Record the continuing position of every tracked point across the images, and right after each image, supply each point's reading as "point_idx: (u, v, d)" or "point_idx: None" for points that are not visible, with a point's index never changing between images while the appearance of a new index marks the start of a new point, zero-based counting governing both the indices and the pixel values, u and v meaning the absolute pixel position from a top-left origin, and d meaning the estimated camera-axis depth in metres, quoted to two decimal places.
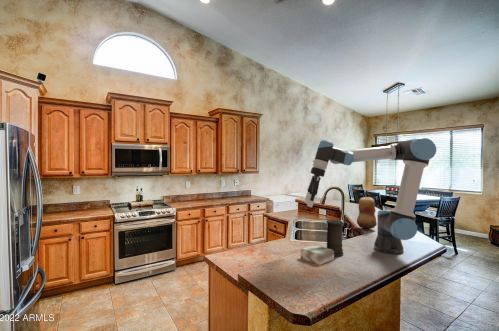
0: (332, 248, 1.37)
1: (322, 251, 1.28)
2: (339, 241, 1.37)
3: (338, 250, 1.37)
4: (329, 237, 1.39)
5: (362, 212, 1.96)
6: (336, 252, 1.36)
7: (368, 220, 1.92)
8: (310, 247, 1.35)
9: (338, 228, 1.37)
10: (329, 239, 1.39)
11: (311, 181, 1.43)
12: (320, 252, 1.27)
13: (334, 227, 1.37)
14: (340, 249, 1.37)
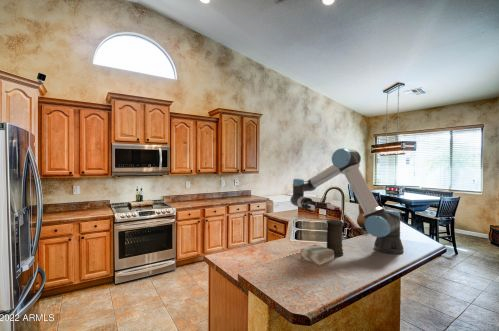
0: (332, 248, 1.37)
1: (322, 251, 1.28)
2: (339, 241, 1.37)
3: (338, 250, 1.37)
4: (329, 237, 1.39)
5: (362, 212, 1.96)
6: (336, 252, 1.36)
7: None
8: (310, 247, 1.35)
9: (338, 228, 1.37)
10: (329, 239, 1.39)
11: (314, 206, 1.63)
12: (320, 252, 1.27)
13: (334, 227, 1.37)
14: (340, 249, 1.37)
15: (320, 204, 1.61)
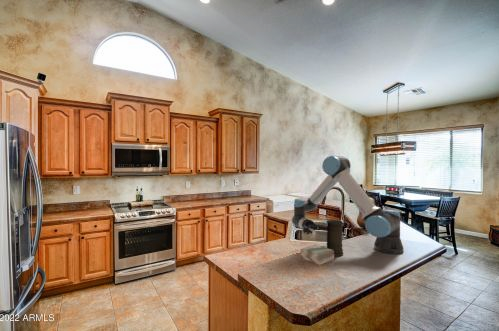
0: (332, 248, 1.37)
1: (322, 251, 1.28)
2: (339, 241, 1.37)
3: (338, 250, 1.37)
4: (329, 237, 1.39)
5: None
6: (336, 252, 1.36)
7: None
8: (310, 247, 1.35)
9: (338, 228, 1.37)
10: (329, 239, 1.39)
11: (316, 229, 1.60)
12: (320, 252, 1.27)
13: (334, 227, 1.37)
14: (340, 249, 1.37)
15: (322, 227, 1.59)
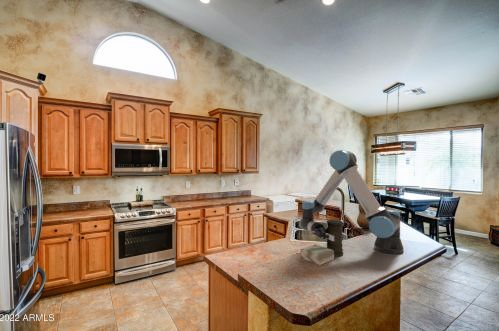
0: (332, 248, 1.37)
1: (322, 251, 1.28)
2: (339, 241, 1.37)
3: (338, 250, 1.37)
4: None
5: (362, 212, 1.96)
6: (336, 252, 1.36)
7: None
8: (310, 247, 1.35)
9: (338, 228, 1.37)
10: None
11: (326, 233, 1.50)
12: (320, 252, 1.27)
13: (334, 227, 1.37)
14: (340, 249, 1.37)
15: None
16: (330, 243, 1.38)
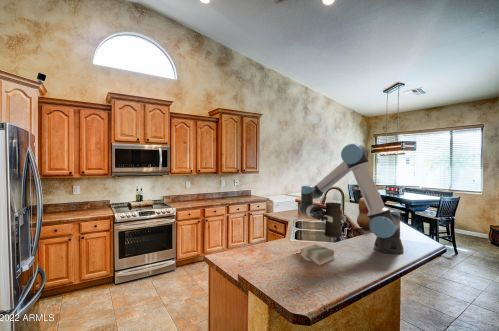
0: (331, 229, 1.37)
1: (322, 251, 1.28)
2: (338, 222, 1.37)
3: (337, 231, 1.36)
4: None
5: (362, 212, 1.96)
6: (334, 233, 1.36)
7: (368, 220, 1.92)
8: (310, 247, 1.35)
9: (337, 209, 1.37)
10: (328, 221, 1.39)
11: None
12: (320, 252, 1.27)
13: (333, 208, 1.37)
14: (339, 231, 1.37)
15: None
16: (329, 225, 1.38)
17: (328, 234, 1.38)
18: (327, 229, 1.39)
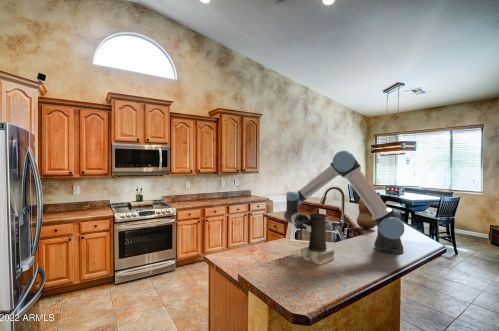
0: (315, 243, 1.29)
1: None
2: (322, 235, 1.29)
3: (321, 245, 1.29)
4: (312, 231, 1.31)
5: (362, 212, 1.96)
6: (319, 247, 1.29)
7: (368, 220, 1.92)
8: None
9: (321, 222, 1.29)
10: (312, 233, 1.31)
11: None
12: (320, 252, 1.27)
13: (317, 221, 1.29)
14: (323, 244, 1.29)
15: None
16: (312, 238, 1.30)
17: (312, 247, 1.30)
18: (311, 242, 1.31)
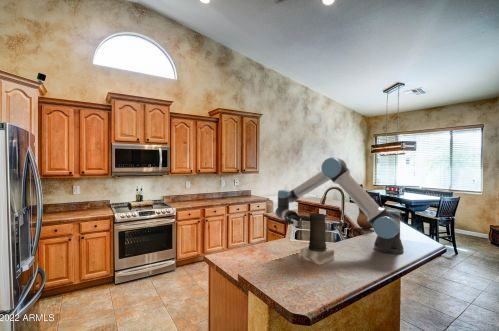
0: (315, 243, 1.29)
1: None
2: (322, 235, 1.29)
3: (321, 245, 1.29)
4: (311, 231, 1.31)
5: (362, 212, 1.96)
6: (319, 247, 1.29)
7: None
8: None
9: (321, 222, 1.29)
10: (311, 233, 1.31)
11: None
12: (320, 252, 1.27)
13: (317, 221, 1.29)
14: (323, 244, 1.29)
15: (304, 218, 1.53)
16: (312, 238, 1.30)
17: (312, 248, 1.30)
18: (311, 242, 1.31)
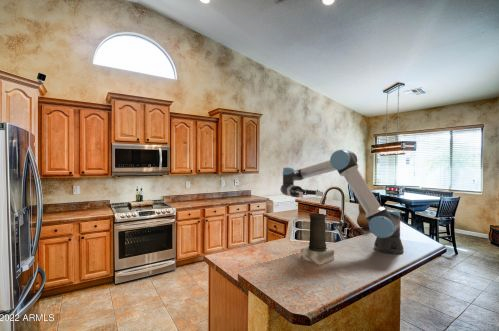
0: (315, 243, 1.29)
1: (323, 251, 1.28)
2: (322, 235, 1.29)
3: (321, 245, 1.29)
4: (311, 231, 1.31)
5: (362, 212, 1.96)
6: (319, 247, 1.29)
7: None
8: None
9: (321, 222, 1.29)
10: (311, 233, 1.31)
11: (303, 194, 1.61)
12: (320, 252, 1.27)
13: (316, 221, 1.29)
14: (323, 244, 1.29)
15: (309, 192, 1.59)
16: (312, 238, 1.30)
17: (312, 248, 1.30)
18: (311, 242, 1.31)
